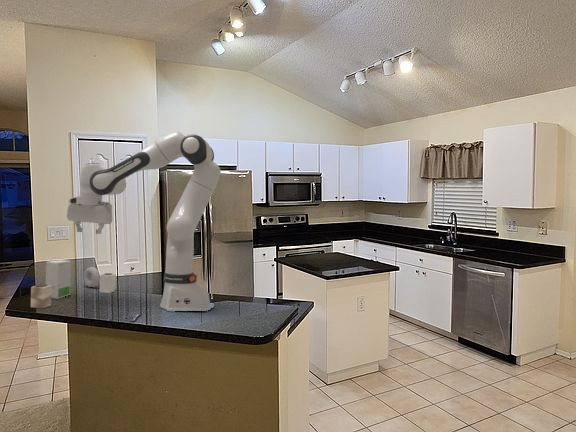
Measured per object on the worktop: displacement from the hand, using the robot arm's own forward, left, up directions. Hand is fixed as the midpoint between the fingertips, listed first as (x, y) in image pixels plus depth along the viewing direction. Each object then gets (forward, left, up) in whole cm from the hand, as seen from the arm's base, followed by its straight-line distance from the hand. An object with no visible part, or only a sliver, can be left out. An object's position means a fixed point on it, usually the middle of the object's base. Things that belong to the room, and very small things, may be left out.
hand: (88, 232), depth 181 cm
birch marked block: (+9, +16, -29) cm, 34 cm away
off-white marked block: (-1, -16, -29) cm, 33 cm away
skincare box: (+13, 0, -29) cm, 32 cm away
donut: (+10, -21, -29) cm, 37 cm away
